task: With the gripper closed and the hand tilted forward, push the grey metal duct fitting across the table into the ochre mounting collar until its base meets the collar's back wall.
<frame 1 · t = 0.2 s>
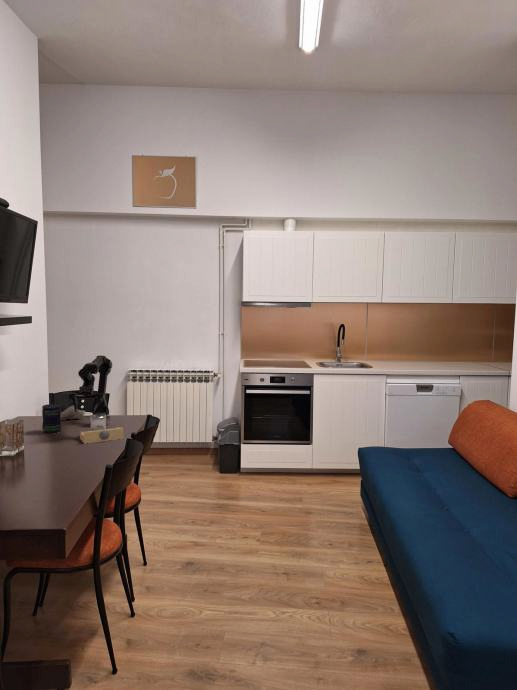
hand: (84, 411, 259), 15 cm above the table, tool tilted 30°, fingers open, 9 cm apart
storage jar: (51, 432, 273), on the table
pipe: (68, 419, 303), on the table
mounting collar: (102, 439, 260), on the table
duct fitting: (98, 435, 267), on the table
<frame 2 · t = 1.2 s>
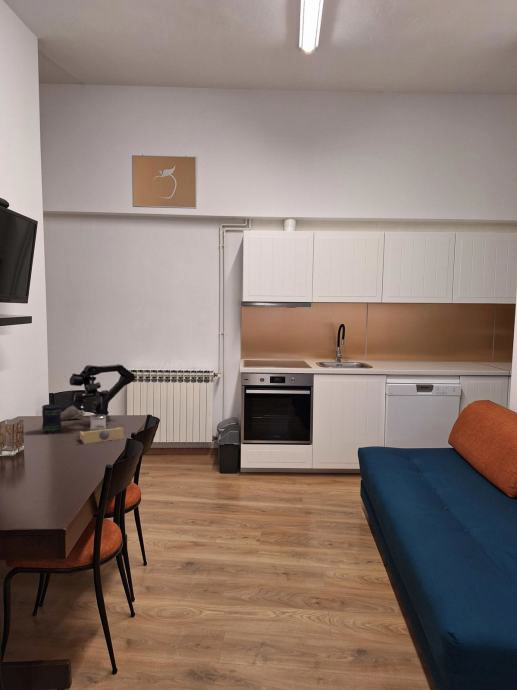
hand: (94, 408, 273), 13 cm above the table, tool tilted 45°, fingers open, 9 cm apart
nothing on the table moved.
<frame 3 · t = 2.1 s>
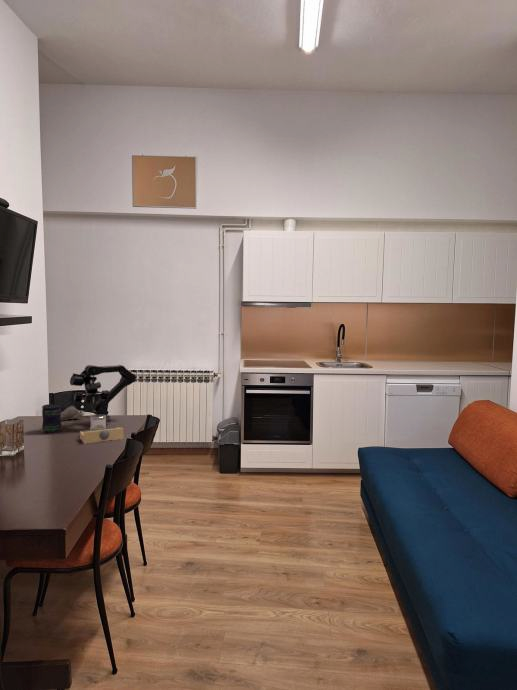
hand: (94, 408, 273), 14 cm above the table, tool tilted 45°, fingers closed
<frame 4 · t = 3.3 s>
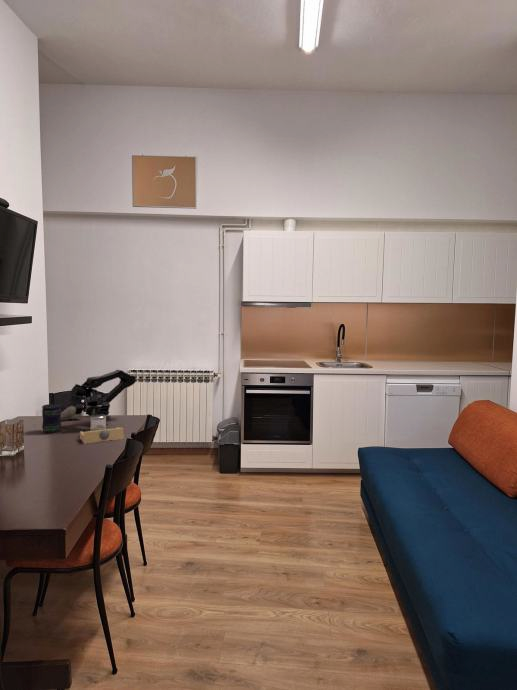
hand: (94, 420, 273), 7 cm above the table, tool tilted 45°, fingers closed
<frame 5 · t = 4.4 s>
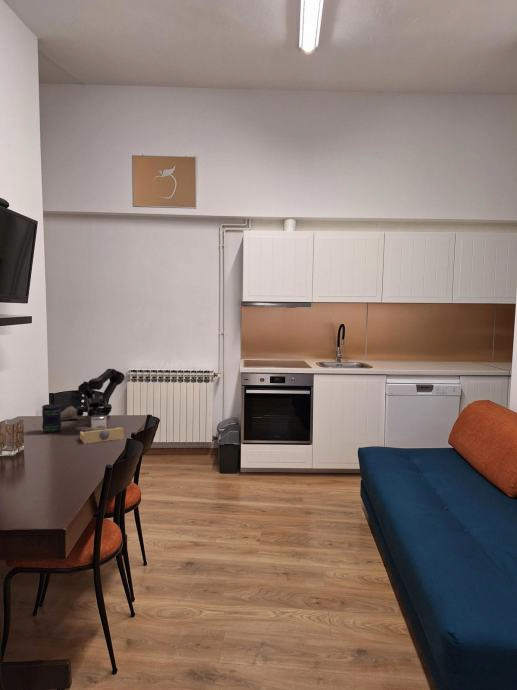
hand: (96, 422, 269), 7 cm above the table, tool tilted 45°, fingers closed
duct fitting: (98, 435, 266), on the table, touching gripper
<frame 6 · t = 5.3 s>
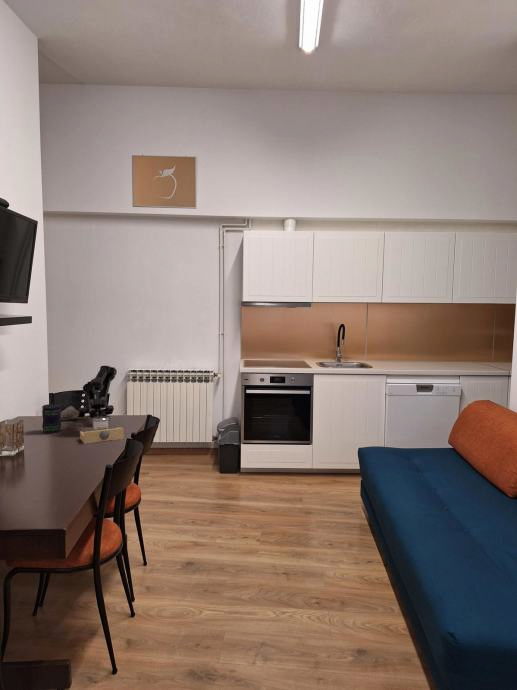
hand: (98, 424, 266), 7 cm above the table, tool tilted 45°, fingers closed, pressing on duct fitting
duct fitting: (100, 437, 263), on the table, touching gripper, mounting collar
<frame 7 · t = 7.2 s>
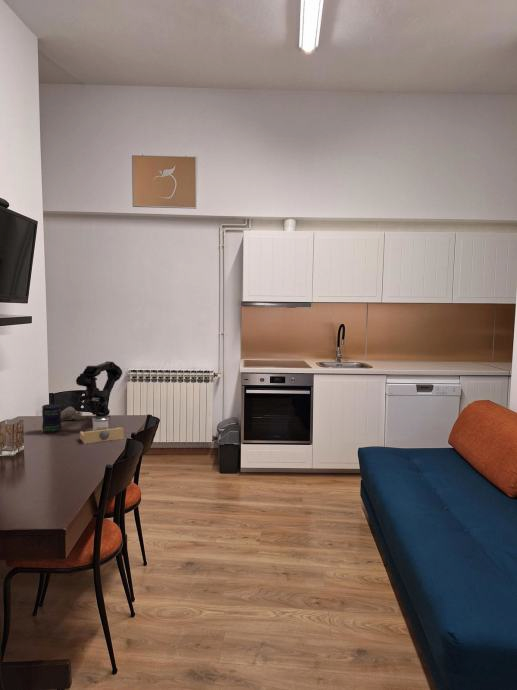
hand: (95, 413, 274), 10 cm above the table, tool tilted 25°, fingers closed
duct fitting: (100, 437, 263), on the table
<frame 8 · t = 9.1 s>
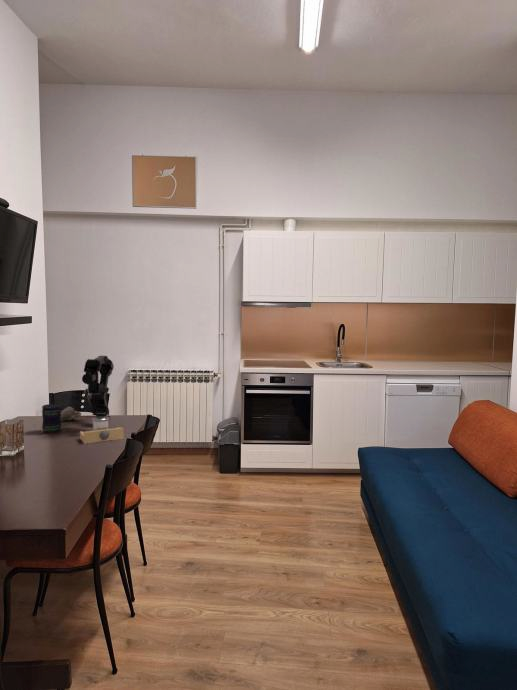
hand: (93, 408, 276), 13 cm above the table, tool pointing down, fingers closed
at the end: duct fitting 0.6 cm from the target spot, on the table; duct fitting tilted 0° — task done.
